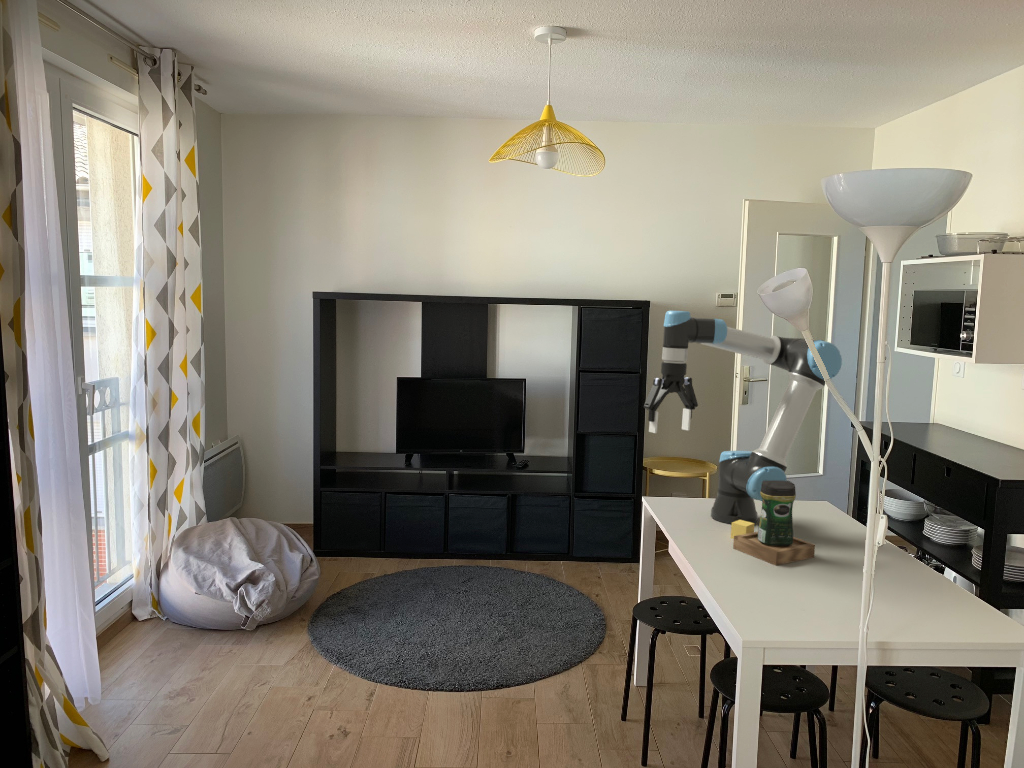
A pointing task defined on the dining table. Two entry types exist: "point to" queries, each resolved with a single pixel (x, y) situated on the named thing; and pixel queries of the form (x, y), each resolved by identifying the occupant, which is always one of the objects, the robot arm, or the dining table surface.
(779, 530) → the coffee jar
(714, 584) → the dining table surface
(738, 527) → the mustard cube
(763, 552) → the walnut tray
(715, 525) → the dining table surface
